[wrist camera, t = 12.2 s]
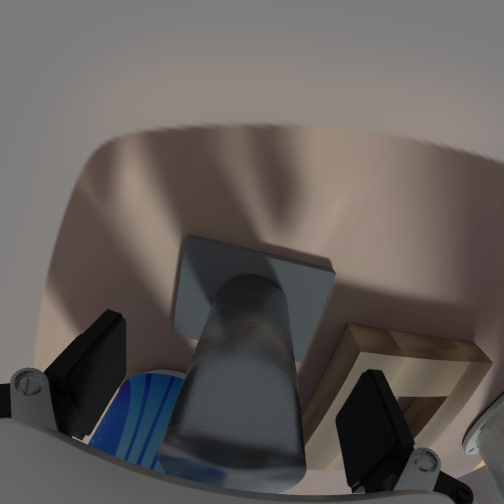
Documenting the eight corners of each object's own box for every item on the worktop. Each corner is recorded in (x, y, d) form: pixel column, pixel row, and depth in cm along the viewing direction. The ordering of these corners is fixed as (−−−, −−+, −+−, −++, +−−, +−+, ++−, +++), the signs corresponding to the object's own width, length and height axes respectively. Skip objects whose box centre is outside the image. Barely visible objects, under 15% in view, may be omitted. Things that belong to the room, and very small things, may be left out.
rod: (296, 283, 15) (330, 442, 5) (276, 345, 16) (280, 503, 6) (221, 266, 15) (157, 412, 5) (209, 329, 16) (157, 480, 6)
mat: (333, 269, 15) (336, 273, 15) (301, 356, 17) (301, 362, 16) (189, 234, 15) (186, 237, 15) (175, 327, 17) (172, 332, 16)
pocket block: (474, 342, 16) (493, 362, 14) (404, 441, 20) (412, 463, 17) (347, 322, 16) (360, 351, 13) (287, 439, 20) (288, 468, 17)
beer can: (123, 346, 18) (4, 535, 2) (242, 377, 18) (209, 619, 2) (130, 418, 20) (64, 564, 5) (224, 443, 20) (197, 608, 5)
